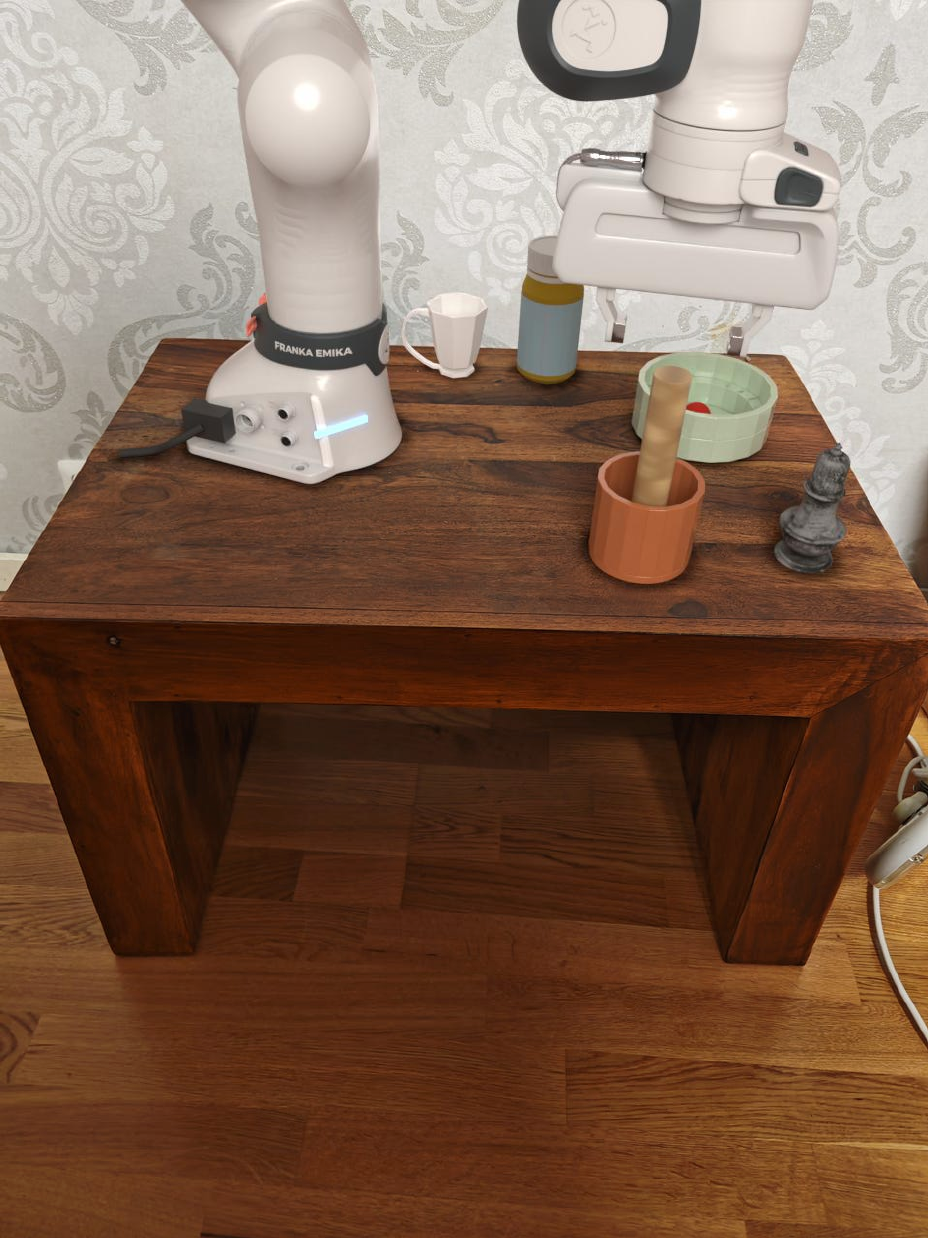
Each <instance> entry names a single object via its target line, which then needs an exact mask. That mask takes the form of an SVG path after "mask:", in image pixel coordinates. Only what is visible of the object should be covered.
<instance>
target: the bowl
mask: <svg viewBox="0 0 928 1238" xmlns="http://www.w3.org/2000/svg"><path fill="white" fill-rule="evenodd" d="M662 366H676V367H681V368H683V369H686V370H687V371H689V372H690V373H691V374H692V381H691V386H690V391H689V396H688V401H687V405H688V404H690V403H693V402H701V403H703V404H705V405H706V406H707V407H708V408H709V409H710V412H711V414H705V413H697V412H693V411H689V410H686V411H685V416H684V421H683V426H682V431H681V436H680V441H679V446H678V451H677V456H676V458H678V459H681V460H684V461H690V462H691V461H693V462H701V463H707V464H708V463H709V464H711V463H713V464H714V463H730V462H735V461H738V460H743V459H747V458H749V457H751V456H753V455H754V454H756V453H757V452H760V451H761V450H762V448H763V447H764V445H765V443H766V442H767V440H768V436H769V432H770V428H771V426H772V421H773V418H774V413H775V410H776V406H777V403H778V400H779V389H778V385H777V384H776V382H775V381H774V380H773V379H772V377H771V376H770V375H769V374H767V373H766V372H765V371H763V370H762V369H761V368H759V367H758V366H756V365H753V364H751V363H749V362H747V361H744V360H742V359H739V358H737V357H733V356H726V355H725V354H721V353H715V352H707V351H706V352H704V351H681V352H680V351H679V352H678V351H677V352H673V353H668V354H663V355H660V356H657V357H655V358H652V359H650V360H649V361H647V362H646V363H645V364H644V365H643V366H642V367H641V369H640V370H639V371H638V377H637V378H638V379H637V383H636V391H635V396H634V403H633V410H632V417H631V426H632V428H633V429H634V431H635V434H636V435H637V437H639V438H640V439H641V440H642V438H643V432H644V426H645V420H646V414H647V408H648V403H649V397H650V391H651V385H652V379H653V373H654V371H655V370H656V369H657V368H659V367H662Z"/></svg>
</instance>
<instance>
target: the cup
mask: <svg viewBox="0 0 928 1238" xmlns="http://www.w3.org/2000/svg"><path fill="white" fill-rule="evenodd" d="M426 305H427V307H416V308H414V309H411V310H410V311H409V312H408V313H407V315H406V316H405V317H404V320H403V323H402V328H401V335H400V336H401V340H402V343H403V347H404V348H405V349H406V350H407V351H408V352H409V354H411V355H412V356H413V357H414V358H416V360H418V361H419V362H421V363H422V364H423V365H425V366H427V367H428V368H431V369H433V370H438V371H439V373H440V375H442V376H445V377H449V378H450V379H457V378H468V377H469V376H470V375H472V374H473V373H474V372H475V367H474V365H473V364H475V363H476V361H477V358H478V355H479V352H480V349H481V345H482V340H483V334H484V330H485V325H486V320H487V315H488V309H489V307H488V305H487V303H486V301H485V300H484V299H483V297H481V296H478V295H474V294H470V293H466V292H462V291H460V292H459V291H458V292H447V293H438V294H437V295H436V296H434V297H432V298H431V299H429V300H428V301H426ZM413 315H420V316H423V317H427V318H428V319H429V325H430V332H431V338H432V345H433V348H434V352H435V354H436V359H437V361H438V363H435V362H433V361H431V360H429V359H427V358H425V356H423V355H422V354H420V353H419V352H418V351H417V350H415V349H414V348H413V346H412V345H411V344H410V343H409V342H408V339H407V337H406V328H407V327H406V326H407V323H408V321H409V319H410V318H411V317H412V316H413Z"/></svg>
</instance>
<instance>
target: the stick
mask: <svg viewBox="0 0 928 1238" xmlns="http://www.w3.org/2000/svg"><path fill="white" fill-rule="evenodd" d="M691 381H692V374H691V373H690V372H689V371H687V370H686V369H683V368H681V367H676V366H662V367H659V368H657V369H656V370H655V371H654V373H653V379H652V385H651V391H650V397H649V403H648V408H647V414H646V420H645V426H644V432H643V438H642V439H641V444H640V450H639V451H640V455H639V461H638V467H637V473H636V478H635V484H634V490H633V496H632V502H633V503H638V504H642V505H646V506H659V507H666V506H667V501H668V496H669V491H670V486H671V481H672V476H673V471H674V466H675V461H676V458H677V457H676V456H677V451H678V446H679V441H680V436H681V431H682V426H683V421H684V416H685V411H686V406H687V401H688V396H689V391H690V386H691Z"/></svg>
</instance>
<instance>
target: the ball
mask: <svg viewBox="0 0 928 1238" xmlns="http://www.w3.org/2000/svg"><path fill="white" fill-rule="evenodd" d="M686 410H689V411H693V412H697V413H705V414H711V412H710V409H709V408H708V407H707V406H706V405H705V404H703V403H701V402H693V403H690V404H688V405H687V406H686Z"/></svg>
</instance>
